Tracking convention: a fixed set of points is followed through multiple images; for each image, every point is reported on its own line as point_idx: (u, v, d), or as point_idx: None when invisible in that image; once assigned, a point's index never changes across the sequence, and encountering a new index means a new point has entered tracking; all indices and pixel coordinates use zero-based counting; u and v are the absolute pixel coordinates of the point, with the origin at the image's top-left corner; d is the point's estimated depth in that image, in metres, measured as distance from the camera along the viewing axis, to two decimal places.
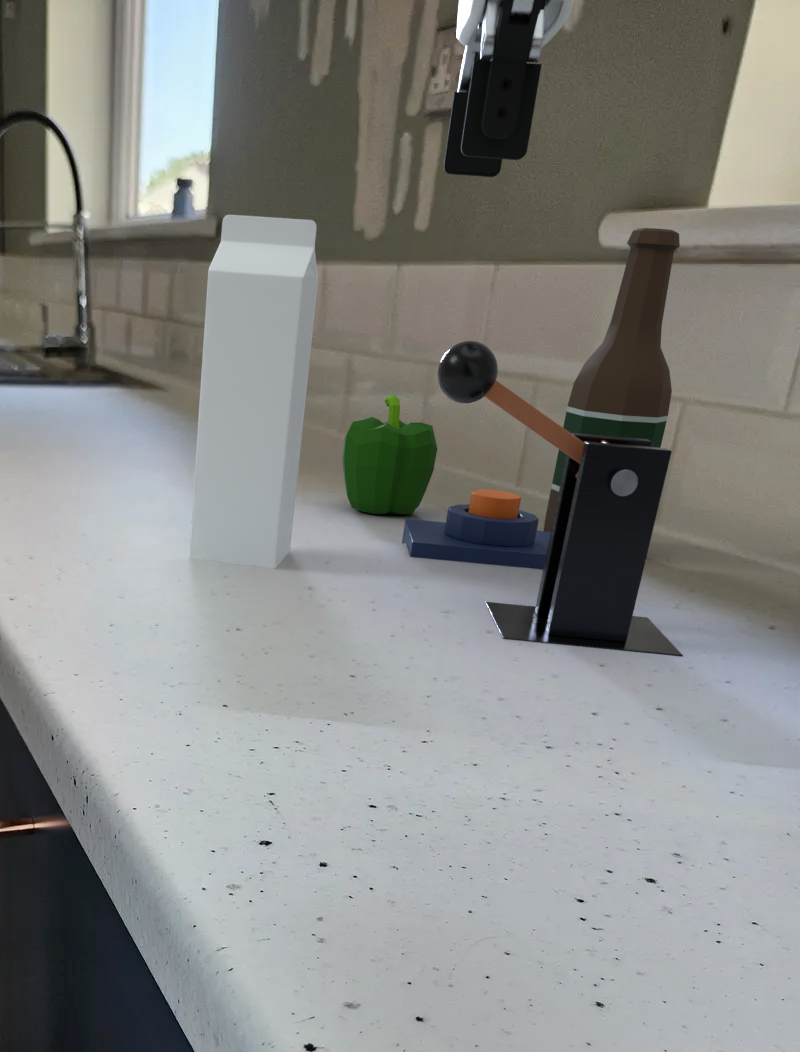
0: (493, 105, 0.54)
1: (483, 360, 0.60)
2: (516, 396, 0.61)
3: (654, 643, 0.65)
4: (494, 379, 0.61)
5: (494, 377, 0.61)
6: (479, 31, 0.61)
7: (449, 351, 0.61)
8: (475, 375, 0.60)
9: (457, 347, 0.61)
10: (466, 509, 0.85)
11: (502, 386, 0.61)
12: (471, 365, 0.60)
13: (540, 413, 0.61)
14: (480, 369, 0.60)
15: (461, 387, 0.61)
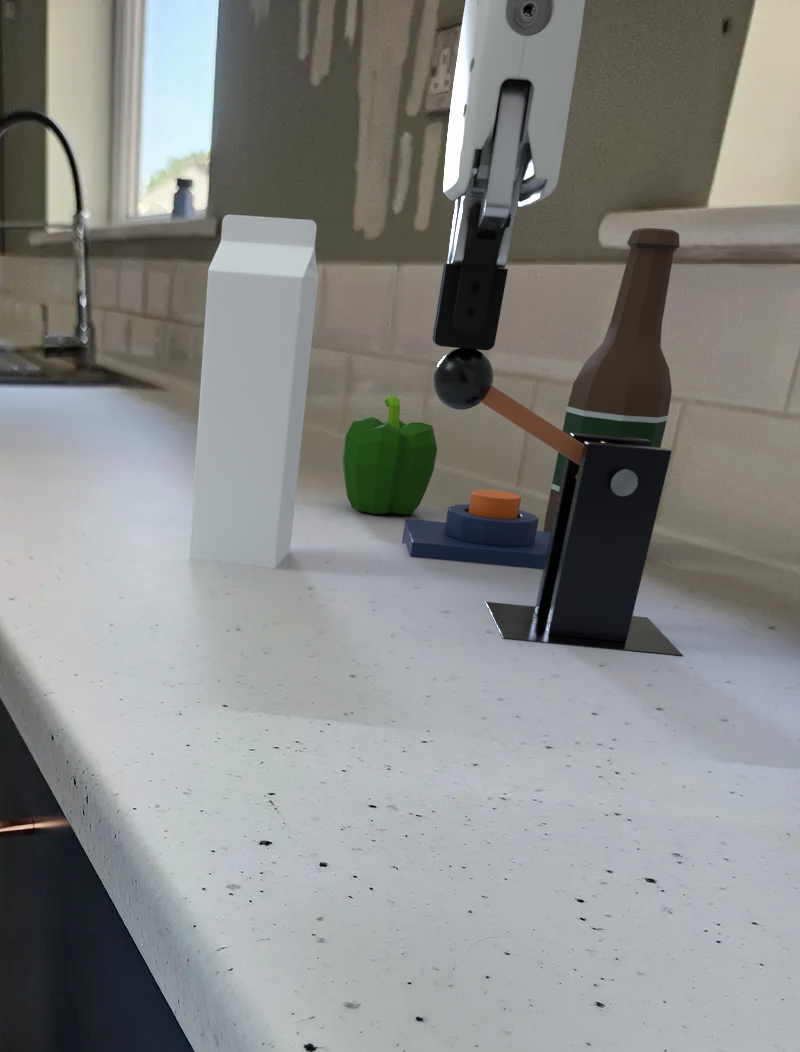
0: (463, 304, 0.59)
1: (478, 366, 0.60)
2: (513, 400, 0.61)
3: (654, 643, 0.65)
4: (490, 384, 0.61)
5: (490, 382, 0.61)
6: None
7: (444, 358, 0.61)
8: (471, 381, 0.60)
9: (451, 354, 0.61)
10: (466, 509, 0.85)
11: (498, 391, 0.61)
12: (466, 372, 0.60)
13: (537, 416, 0.62)
14: (475, 375, 0.60)
15: (457, 394, 0.61)
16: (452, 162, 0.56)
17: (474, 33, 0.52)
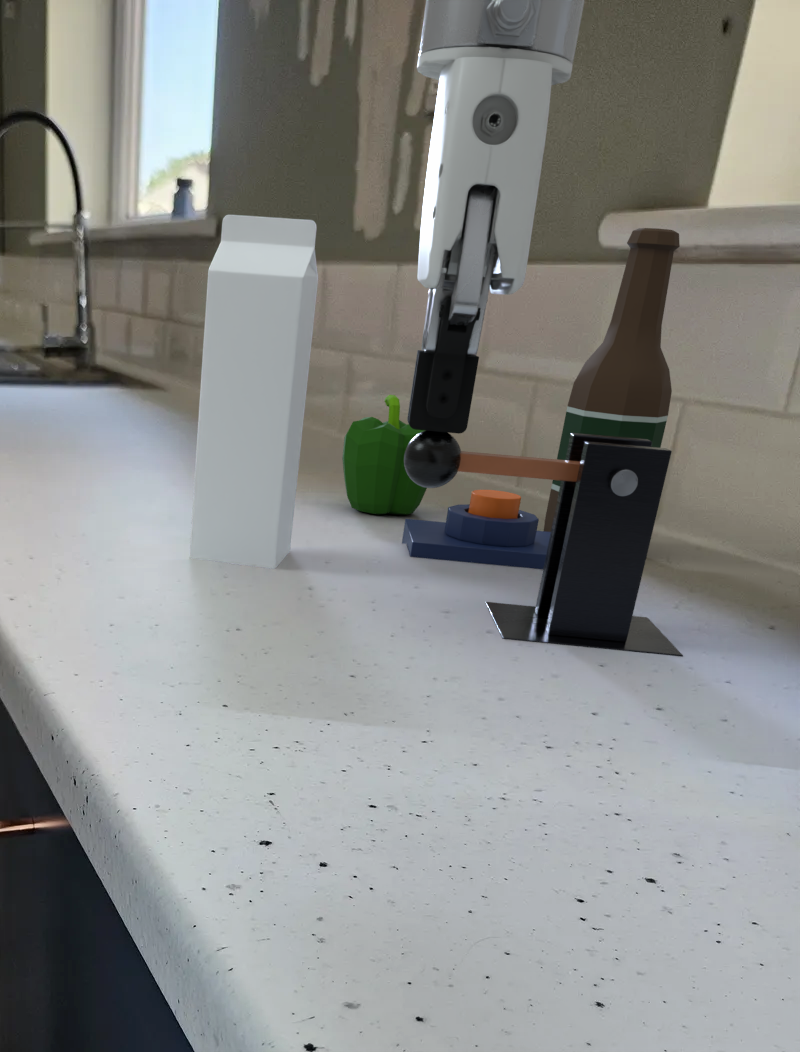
0: (436, 391, 0.61)
1: (440, 444, 0.62)
2: (486, 456, 0.63)
3: (654, 643, 0.65)
4: (459, 453, 0.63)
5: (458, 452, 0.63)
6: None
7: (407, 451, 0.63)
8: (439, 461, 0.62)
9: (411, 444, 0.63)
10: (466, 509, 0.85)
11: (469, 455, 0.63)
12: (431, 455, 0.62)
13: (516, 459, 0.63)
14: (441, 454, 0.62)
15: (432, 476, 0.63)
16: (423, 257, 0.58)
17: (443, 140, 0.54)
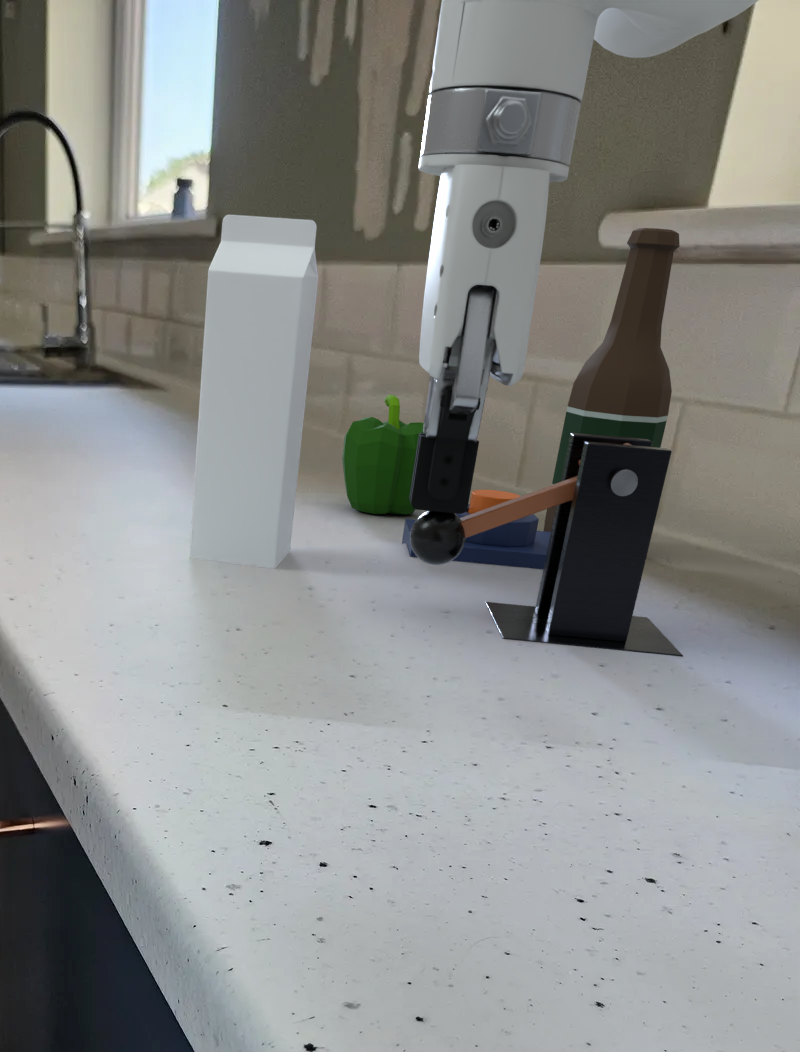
0: (437, 475, 0.63)
1: (438, 524, 0.64)
2: (486, 513, 0.64)
3: (654, 643, 0.65)
4: (459, 523, 0.64)
5: (457, 522, 0.64)
6: None
7: (411, 542, 0.65)
8: (443, 539, 0.64)
9: (412, 535, 0.65)
10: None
11: (469, 519, 0.64)
12: (434, 537, 0.64)
13: (514, 503, 0.64)
14: (442, 532, 0.64)
15: (444, 554, 0.64)
16: (425, 349, 0.60)
17: (443, 241, 0.56)
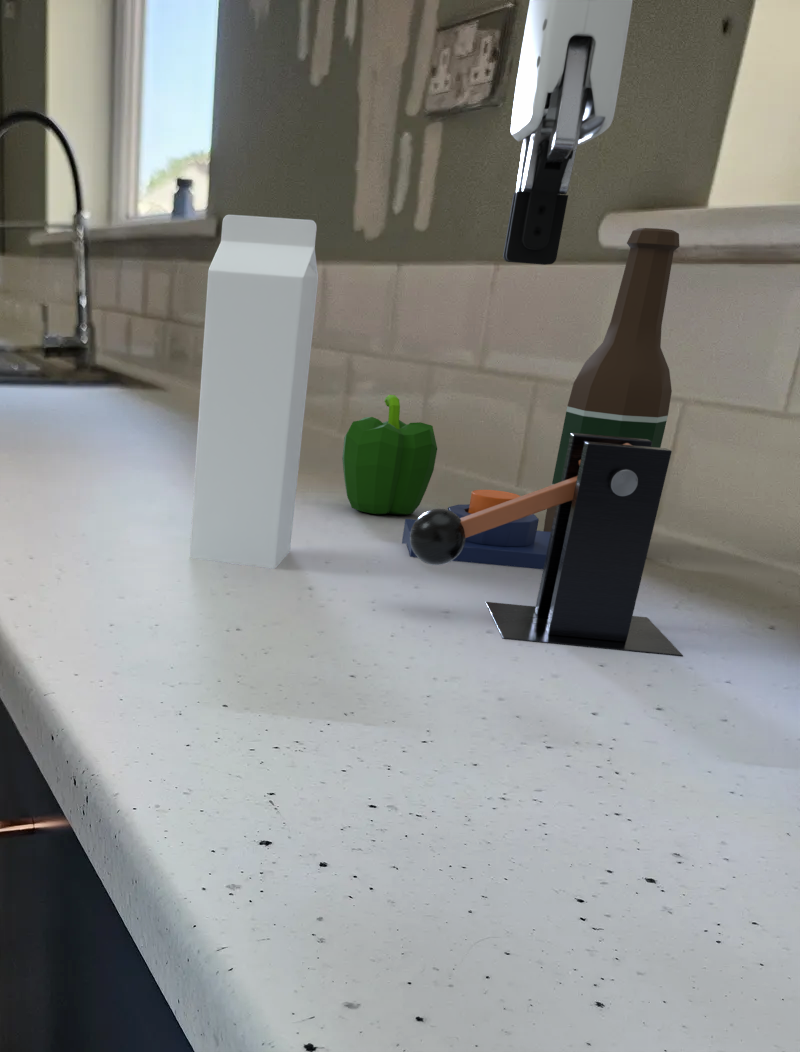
0: (532, 225, 0.72)
1: (438, 525, 0.64)
2: (486, 514, 0.64)
3: (654, 643, 0.65)
4: (459, 523, 0.64)
5: (457, 522, 0.64)
6: None
7: (411, 542, 0.65)
8: (443, 539, 0.64)
9: (412, 535, 0.65)
10: (466, 509, 0.85)
11: (469, 519, 0.64)
12: (434, 537, 0.64)
13: (514, 503, 0.64)
14: (442, 532, 0.64)
15: (444, 554, 0.64)
16: (524, 106, 0.69)
17: None
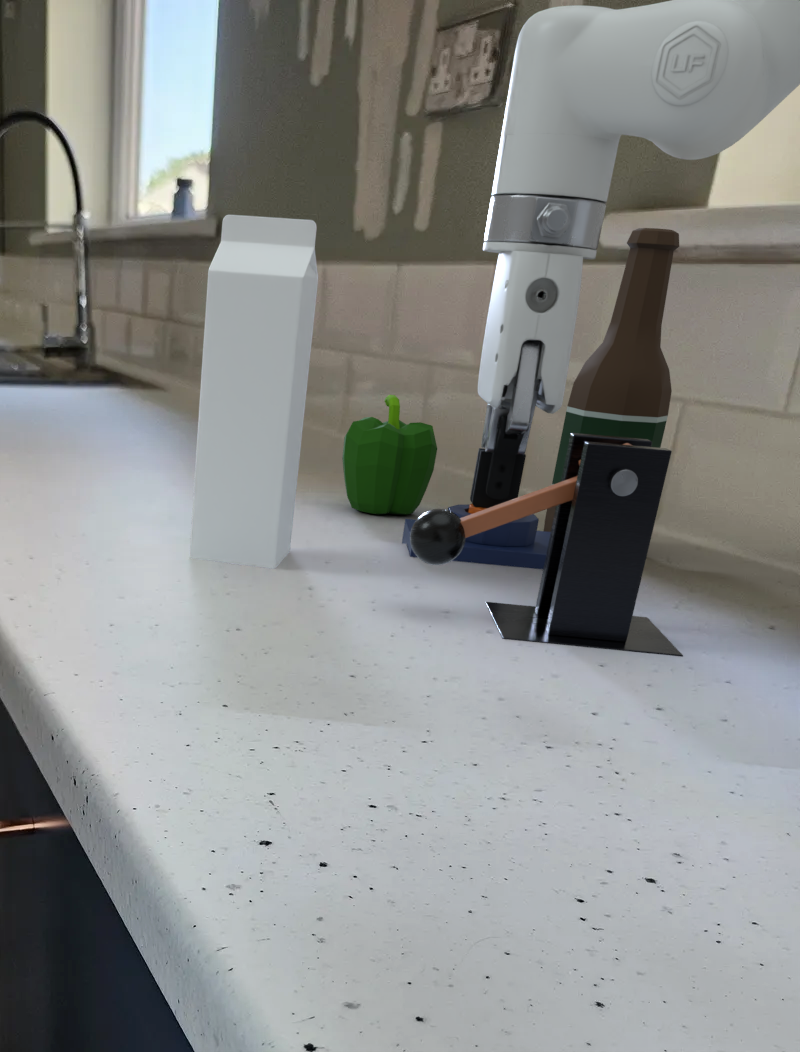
0: (494, 480, 0.81)
1: (438, 525, 0.64)
2: (486, 514, 0.64)
3: (654, 643, 0.65)
4: (459, 523, 0.64)
5: (457, 522, 0.64)
6: None
7: (411, 542, 0.65)
8: (443, 539, 0.64)
9: (412, 535, 0.65)
10: (466, 509, 0.85)
11: (469, 519, 0.64)
12: (434, 537, 0.64)
13: (514, 503, 0.64)
14: (442, 532, 0.64)
15: (444, 554, 0.64)
16: (486, 385, 0.79)
17: (503, 306, 0.75)
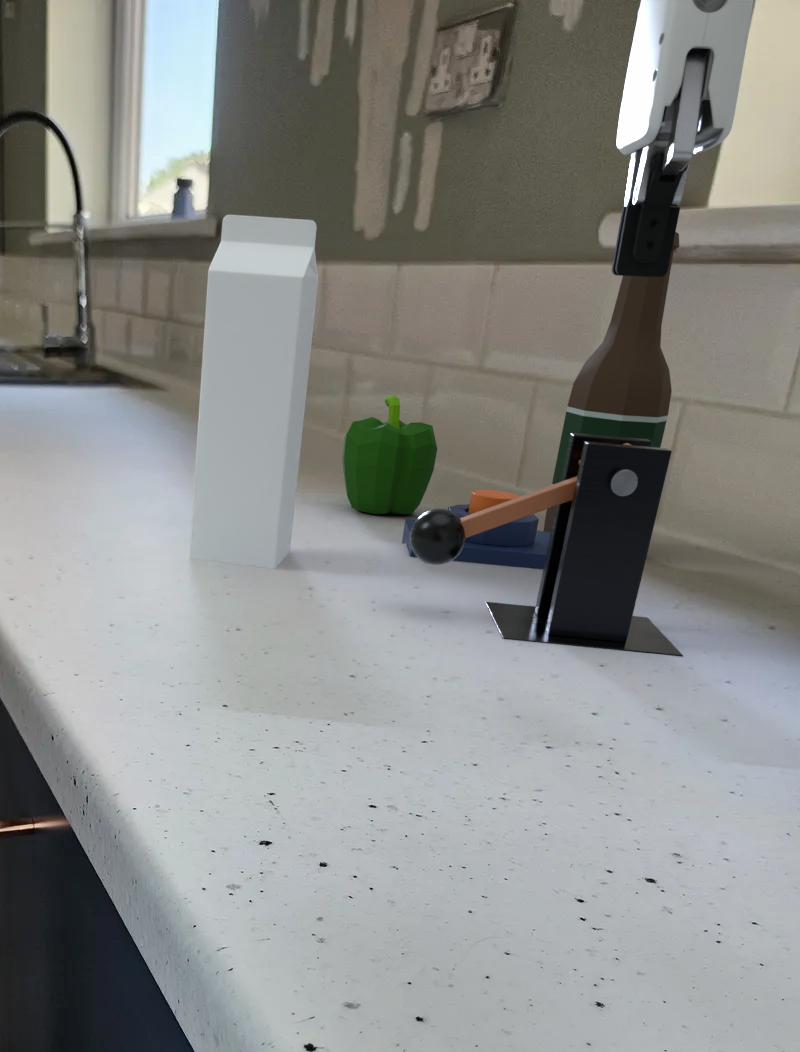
0: (643, 238, 0.71)
1: (438, 525, 0.64)
2: (486, 514, 0.64)
3: (654, 643, 0.65)
4: (459, 523, 0.64)
5: (457, 522, 0.64)
6: None
7: (411, 542, 0.65)
8: (443, 539, 0.64)
9: (412, 535, 0.65)
10: (466, 509, 0.85)
11: (469, 519, 0.64)
12: (434, 537, 0.64)
13: (514, 503, 0.64)
14: (442, 532, 0.64)
15: (444, 554, 0.64)
16: (637, 120, 0.68)
17: (663, 13, 0.65)
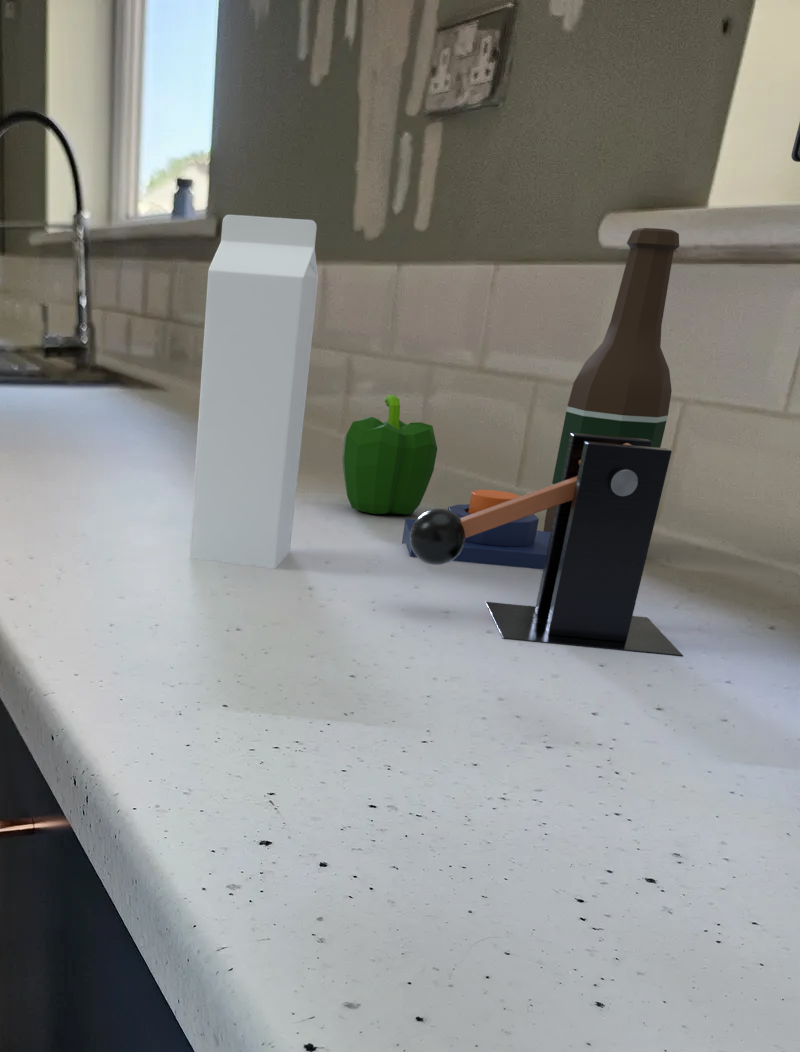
0: None
1: (438, 525, 0.64)
2: (486, 514, 0.64)
3: (654, 643, 0.65)
4: (459, 523, 0.64)
5: (457, 522, 0.64)
6: None
7: (411, 542, 0.65)
8: (443, 539, 0.64)
9: (412, 535, 0.65)
10: (466, 509, 0.85)
11: (469, 519, 0.64)
12: (434, 537, 0.64)
13: (514, 503, 0.64)
14: (442, 532, 0.64)
15: (444, 554, 0.64)
16: None
17: None
